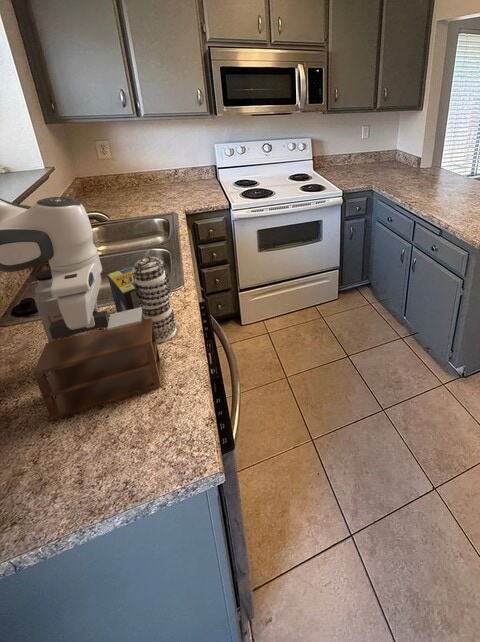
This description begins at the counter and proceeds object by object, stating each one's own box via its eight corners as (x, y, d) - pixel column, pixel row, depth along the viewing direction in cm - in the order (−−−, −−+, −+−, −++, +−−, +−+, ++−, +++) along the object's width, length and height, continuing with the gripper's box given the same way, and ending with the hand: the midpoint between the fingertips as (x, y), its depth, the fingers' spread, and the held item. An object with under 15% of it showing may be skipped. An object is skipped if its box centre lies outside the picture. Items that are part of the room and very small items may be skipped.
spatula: (50, 344, 78) (46, 333, 77) (57, 328, 83) (53, 317, 82) (141, 322, 85) (138, 312, 84) (142, 308, 90) (139, 298, 89)
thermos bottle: (90, 367, 96) (63, 276, 87) (54, 377, 93) (22, 284, 84) (94, 348, 103) (69, 262, 94) (61, 357, 100) (32, 269, 90)
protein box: (149, 301, 125) (141, 262, 119) (167, 321, 114) (159, 279, 109) (116, 315, 118) (106, 273, 113) (133, 337, 108) (122, 292, 102)
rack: (51, 420, 81) (33, 372, 76) (61, 388, 90) (45, 343, 85) (160, 386, 90) (150, 341, 85) (160, 360, 98) (151, 317, 94)
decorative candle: (182, 334, 108) (168, 261, 100) (149, 348, 103) (132, 272, 94) (173, 320, 115) (160, 250, 107) (142, 331, 110) (125, 259, 101)
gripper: (70, 252, 86) (84, 300, 91) (48, 295, 68) (66, 353, 73) (100, 247, 88) (112, 294, 93) (86, 287, 71) (102, 344, 75)
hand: (92, 320), depth 83 cm, fingers closed on spatula, 2 cm apart
